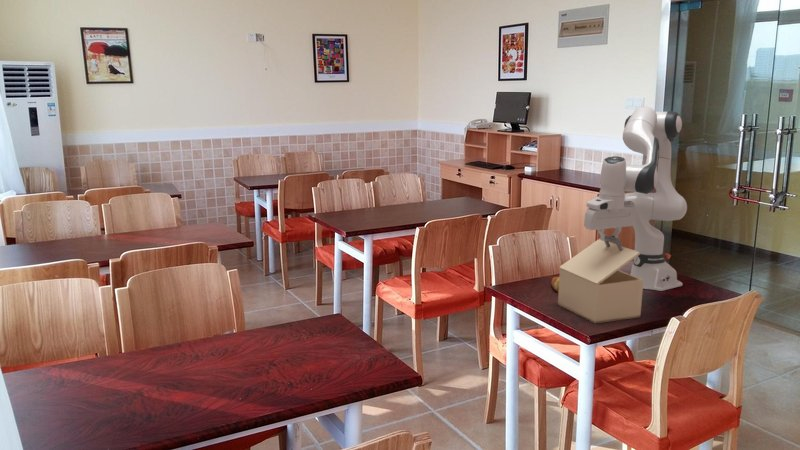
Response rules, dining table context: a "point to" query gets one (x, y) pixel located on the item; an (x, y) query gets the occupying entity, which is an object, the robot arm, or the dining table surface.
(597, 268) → the flap
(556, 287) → the croissant
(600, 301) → the carton
